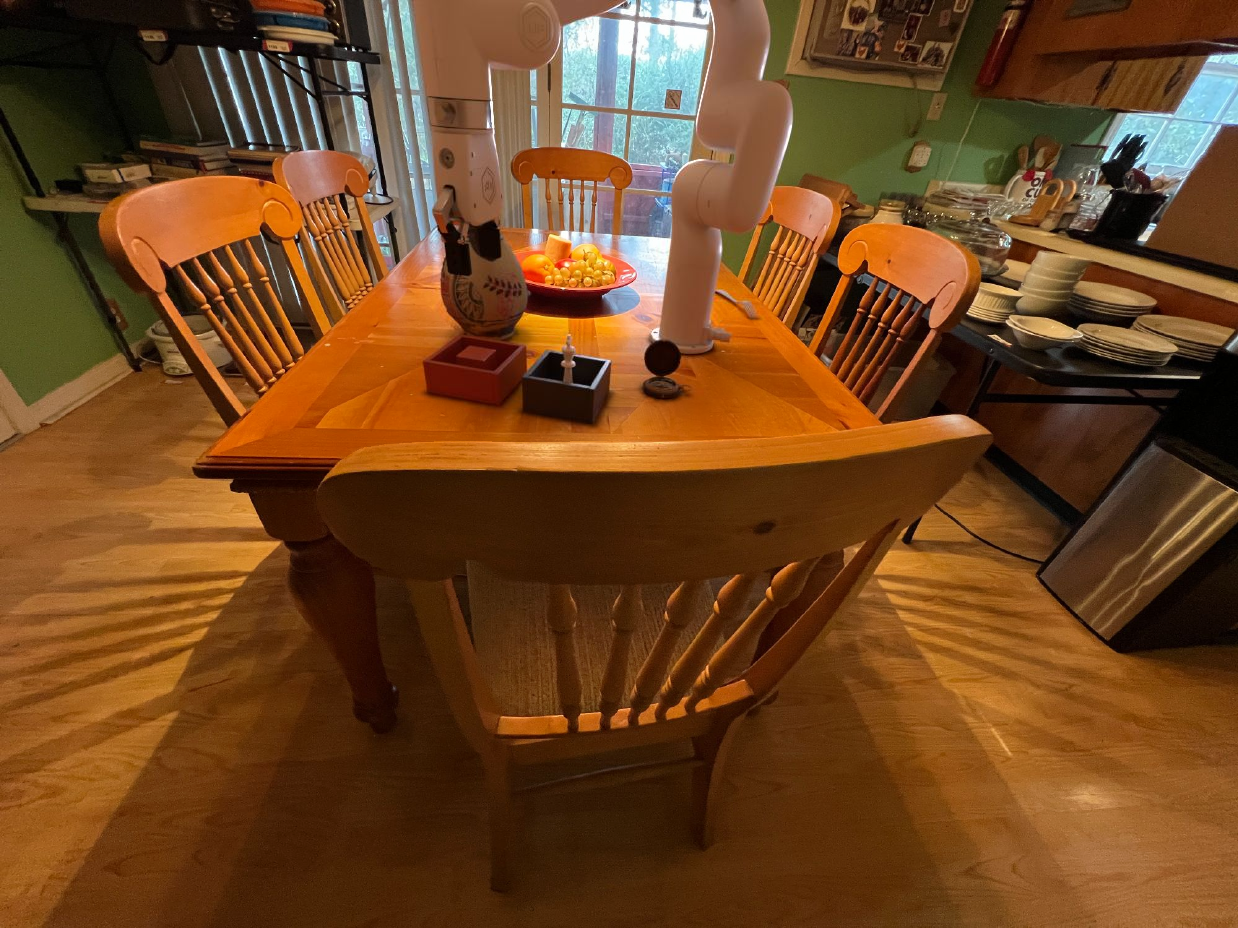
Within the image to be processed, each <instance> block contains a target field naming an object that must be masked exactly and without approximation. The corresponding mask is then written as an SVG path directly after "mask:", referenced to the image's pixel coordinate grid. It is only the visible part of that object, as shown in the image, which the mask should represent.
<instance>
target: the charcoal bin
mask: <svg viewBox="0 0 1238 928" xmlns="http://www.w3.org/2000/svg"><path fill="white" fill-rule="evenodd" d="M564 360H565V359H564V355H563V352H562V351H557V350H553V349H552V350H551V349H545V350H544V352H543V353H542V354H541V355H540V356H539V357H538V358H537V359H536V360H535V361H534V363H533V364H532V365H531V366H530V367H529V368H528V369H527V372H526V373H525V374H524V375H523V376H522V380H521V393H522V394H521V397H522V399H521V400H522V412H524V413H529V414H533V415H534V414H535V415H539V416H545V417H550V418H555V419H561V420H566V421H567V420H568V421H571V422H572V421H573V422H576V423H577V422H578V423H582V424H583V423H584V424H589V425H593V424H594V422H595V420H596V418H597V417H598V415H599V413H600V411H601V409H602V407H603V405H604V403H605V401H606V400H607V397H608V395H609V393H610V388H611V387H610V386H611V373H612V360H611V359H607V358H600V357H594V356H588V355H582V354H576V353H574V356H573V359H572V361H574V362H575V364H576V365H575V366H574V367H572V379H573V383H567V382H563V379H564V372H565V367H563V366H562V365H561V363H562V361H564Z"/></svg>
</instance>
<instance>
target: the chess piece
mask: <svg viewBox="0 0 1238 928" xmlns="http://www.w3.org/2000/svg"><path fill="white" fill-rule="evenodd" d="M572 340H573V337H572V335H571V334H567V336H566V340H565V345H564V346H562V347H561V352H563V355H564V359H565V360H564V361H562V363H561V365H562V366H563V367H565V372H564V379H563V382H567V383H573V379H572V367H574V366H575V365H576V364H575V362H574V361H572V359H573V356H574V354H576V351H577V350H576V348H575V346H572V344H571V343H572Z"/></svg>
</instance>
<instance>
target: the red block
mask: <svg viewBox="0 0 1238 928" xmlns="http://www.w3.org/2000/svg"><path fill="white" fill-rule="evenodd" d="M456 359H457V365H461V366H467V367H472V368H478V369H484V370H490V371H495V370H496V369H497V358H496V350H493V349H487V348H481V347H475V346H468V347H467V348H466V349H465V350H463V351H462V352H461V353H459V354H458V355H457V356H456Z"/></svg>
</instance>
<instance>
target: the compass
mask: <svg viewBox="0 0 1238 928" xmlns="http://www.w3.org/2000/svg"><path fill="white" fill-rule="evenodd" d="M643 354H644V355H643V361H644V366H645V368H646V369H647V371H648V372H649V373H651V374H652V375H654V376H651V377H649V378H647V379H645V380H644V381H643V382H642V390H643V392H645V393H646V394H647V395H649V396H650V397H654V398H658V399H670V398H671V399H672V398H675V397H677V396H678V395H679V394H680V392H681V390H683V391H686V392H687V391H691V390H692V387H691V386H690V385H688V384H681V385H679V383H678V382H676V381H675V380H674V379H672V378H670V377H668V376H670V375H672V374H673V373H675V372H676V371H677V370H678V369H679V367H680V365H681V359H682V353H680V351H679V349H678V347H677V346H676V344H675V343H673V342H672V341H670V340H666V339H662V340H657V341H654V342H651V343H650V344H649V345H648V346H647V348H646V349H645V351H644V353H643ZM685 387H688V388H689V389H685Z"/></svg>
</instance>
